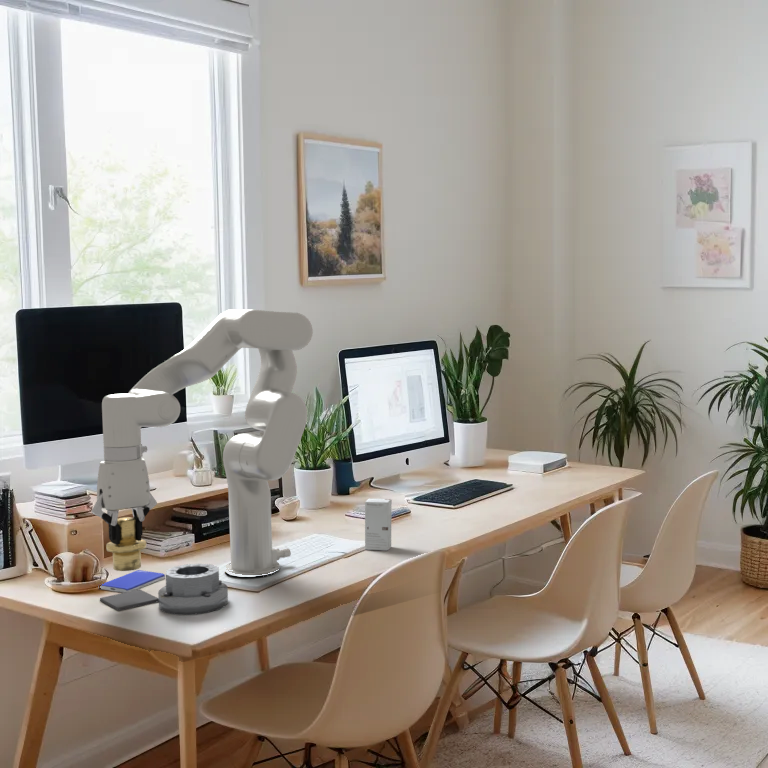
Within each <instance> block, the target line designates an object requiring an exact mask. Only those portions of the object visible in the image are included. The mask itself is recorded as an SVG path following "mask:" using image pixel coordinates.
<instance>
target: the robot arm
mask: <svg viewBox="0 0 768 768" xmlns="http://www.w3.org/2000/svg"><path fill="white" fill-rule="evenodd" d="M313 333H314V330H313V325H312V323H311V321H310V320H309V318H308V317H307V316H305V315H304V314H302V313H299V312H290V311H289V312H288V311H273V310H272V311H271V310H262V309H250V308H248V309H246V308H245V309H244V308H243V309H242V308H240V309H237V308H235V309H227V310H225V311H223V312H221V313H220V314H219V315H218V316H217V317H216V318H215V319H214V320H213V321H211V323H210V324H209V325H208V326H206V328H205V329H204V330H203V331H201V333H200V334H198V336H196V338H195V339H193V340H192V342H191V343H189V345H188V346H186V347H185V348H184V349H183V350H181V351H180V352H178V353H176V354H174V355H173V356H171V357H169V358H168V359H167V360H164V362H162V363H160V364H158V365H157V366H156V367H154V368H152V369H151V370H150V371H149V372H147V374H145V375H144V376H143V377H142V378H141V379H139V381H138V382H136V384H134V386H133V387H132V388H131V389H130V390H129V391H128V393H114V394H108V395H105V396H104V397H103V398H102V402H101V413H102V414H101V416H102V437H103V440H102V441H103V442H102V443H103V460H102V461H100V462H99V467H98V473H97V482H96V483H97V484H96V485H97V486H96V502H95V504H94V505H93V507H92V509H91V513H92V514H93V515H95V516H97V517H99V518H101V519H102V520H103V521H104V522H105V523H106V524H107V525H108V539H109V541H110V542H111V543H114V544H116V545H118V544H120V526H119V525H117V519H119V511H123V510H131V511H132V516H133V517H132V518H135V522H136V540H137V541H141V539H142V536H143V532H144V531H143V522H144V521H145V517H146V516H147V515H148V514H149V513H150V511H151V510H152V509H153V508H154V507H156V505H158V502H157V500H156V499H155V497H154V496H153V495H152V493H151V487H150V485H151V484H150V479H149V472H148V468H147V464H146V459H145V458H142V457H143V454H144V453H147V452H148V447H147V446H146V445H143V443H142V433H141V432H142V429H141V428H147V427H148V428H165V427H169V426H171V425H172V424H174V423H175V422H176V421H177V420H178V418H179V417H180V413H181V404H180V402H179V400H178V398H176V397H175V396H174V394H176V393H178V392H179V391H181V390H183V389H185V388H188V387H191V386H194V385H198V384H201V383H203V382H206V381H208V380H210V379H211V378H213V377H214V376H215V375H216V374H217V373H218V372H219V371H220V370H221V369H222V368H224V365H226V364H227V363H228V362H229V361H230V360H231V359H232V358H233V357H234V356H235V355H236V354H237V353H238V352H239V351H240V350H241V349H258V352H259V356H260V368H259V371H258V375H257V377H256V381H255V383H254V386H253V387H252V392H251V393H250V396H249V399H248V401H247V404H246V407H245V411H244V418H245V421H246V423H247V425H248V426H249V427H250V428H253V429H254V430H257V431H262V432H263V435H260V434H254V433H246V432H245V433H238V434H236V435H233V437H231V438H230V439H229V440H228V441H227V442H226V443H225V446H224V448H223V451H222V461H223V462H222V463H223V467H224V472H225V477H226V483H227V490H228V491H227V492H228V516H229V517H228V518H229V522H228V524H229V547H230V562H229V563H227V564H226V565H225V566H226V568H227V569H226V570H228V571H229V570H233V571H229V572H232V573H235V574H242V575H262V574H268V573H270V572H274V571H276V570H278V569H279V567H280V565H281V564H280V563H279V562H278V561H279V560H280V559H281V558H283V559H284V558H288V557H291V554H292V551H291V549H290V548H289V547H288V548H282V549H279V548H273V530H272V528H273V527H272V496H271V495H272V494H271V489H270V485H269V481H277V480H279V479H281V478H283V477H284V476H285V474H287V472H288V471H289V469H290V468H291V465H292V463H293V460H294V459H295V458H294V457H295V455H296V453H297V450H298V448H299V444H300V442H301V440H302V438H303V437H302V436H303V434H304V431H305V428H306V425H307V421H308V409H307V406H306V402H305V401H304V400H303V398H302V397H301V396H300V395H299V394H296V393H294V392H292V391H293V389H294V386H295V382H296V378H297V374H298V367H297V362H296V361H297V360H296V358H295V354H294V352H293V351H299V350H303V349H304V348H306V347H308V344H310V342H311V340H312V337H313ZM103 509H104V510H106V511H107V512H104V511H103ZM230 564H231V565H230ZM228 568H229V569H228ZM279 570H280V569H279Z"/></svg>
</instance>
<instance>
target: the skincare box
mask: <svg viewBox="0 0 768 768" xmlns="http://www.w3.org/2000/svg"><path fill="white" fill-rule="evenodd" d="M392 500H393V499H391V498H389V499H388V498H370V497H369V498H368V499H366V500H365V502H364V550H367V551H368V550H369V551H370V550H371V551H385V552H386V551H389V550H390V549H391V547H392Z"/></svg>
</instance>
